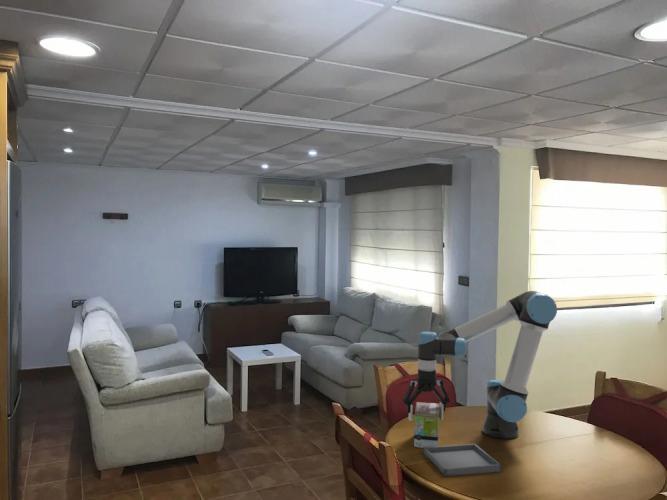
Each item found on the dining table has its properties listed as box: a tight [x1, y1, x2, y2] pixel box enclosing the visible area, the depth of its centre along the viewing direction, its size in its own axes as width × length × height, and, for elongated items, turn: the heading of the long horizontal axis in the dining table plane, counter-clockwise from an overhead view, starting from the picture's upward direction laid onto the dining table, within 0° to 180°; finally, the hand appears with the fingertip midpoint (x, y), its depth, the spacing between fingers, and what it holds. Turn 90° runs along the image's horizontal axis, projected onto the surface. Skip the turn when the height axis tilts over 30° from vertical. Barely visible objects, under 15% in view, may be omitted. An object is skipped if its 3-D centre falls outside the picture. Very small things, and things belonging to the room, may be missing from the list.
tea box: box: [413, 401, 440, 449], centre depth 226 cm, size 15×10×15 cm
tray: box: [422, 443, 502, 477], centre depth 205 cm, size 22×21×2 cm
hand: (425, 419), depth 226 cm, fingers open, 13 cm apart
